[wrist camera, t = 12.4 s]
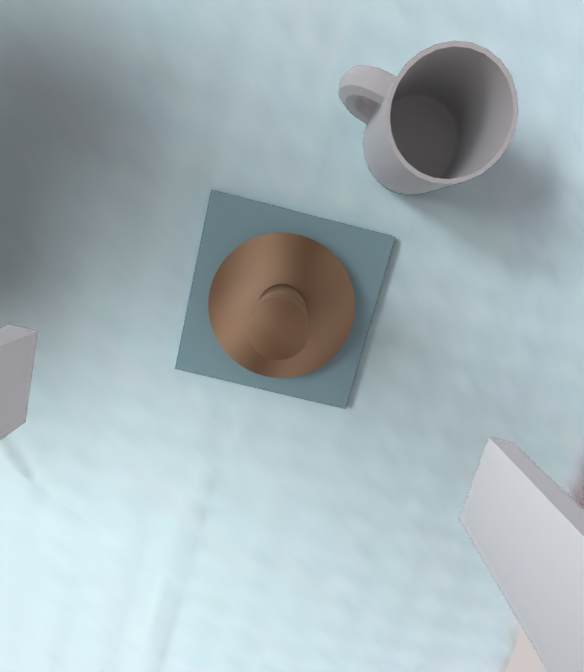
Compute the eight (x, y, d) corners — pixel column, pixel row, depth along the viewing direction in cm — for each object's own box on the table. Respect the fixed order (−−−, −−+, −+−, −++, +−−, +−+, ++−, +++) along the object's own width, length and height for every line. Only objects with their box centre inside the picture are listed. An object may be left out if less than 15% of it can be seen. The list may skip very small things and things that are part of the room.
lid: (198, 356, 37) (168, 396, 28) (226, 216, 35) (204, 212, 26) (333, 387, 38) (345, 436, 29) (370, 252, 35) (395, 260, 27)
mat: (176, 366, 38) (175, 368, 37) (212, 190, 35) (211, 189, 34) (344, 406, 39) (345, 408, 38) (393, 236, 36) (395, 237, 35)
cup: (428, 213, 35) (472, 207, 27) (310, 147, 34) (316, 119, 26) (480, 121, 34) (544, 83, 25) (359, 50, 33) (382, -15, 24)
